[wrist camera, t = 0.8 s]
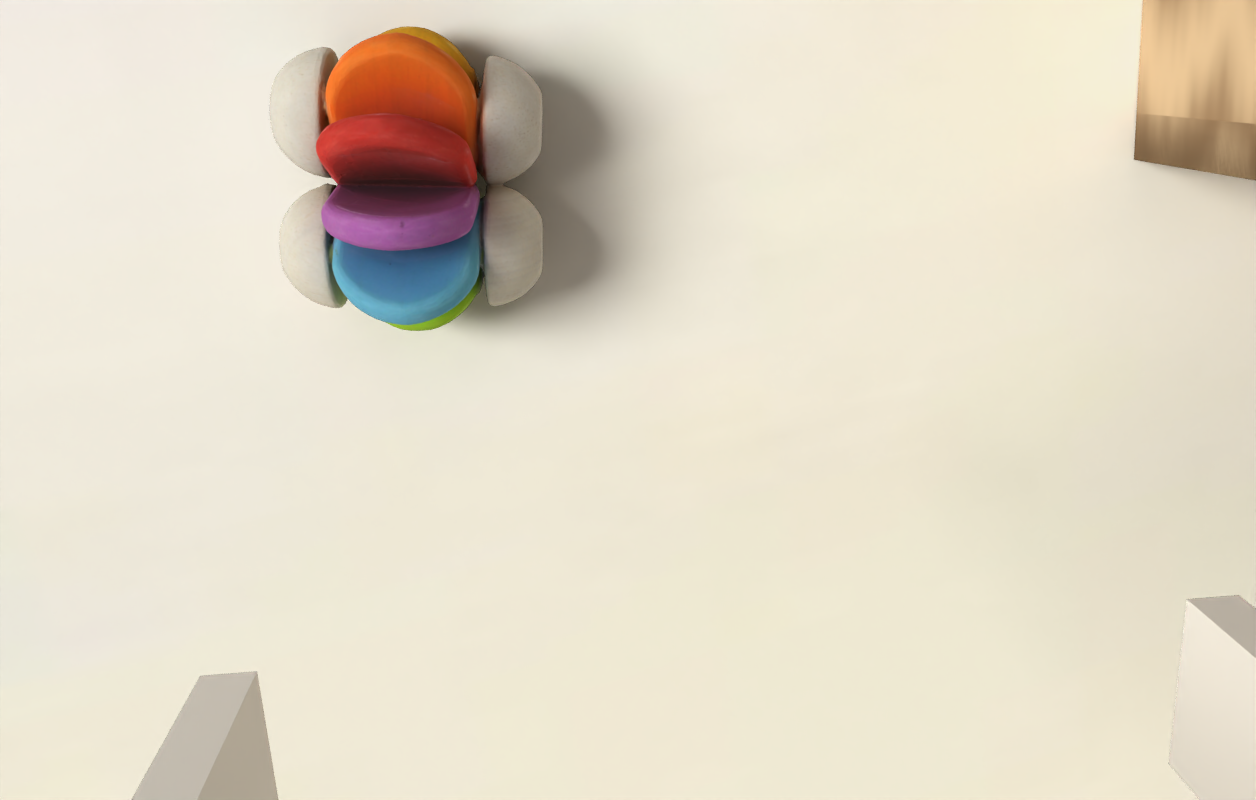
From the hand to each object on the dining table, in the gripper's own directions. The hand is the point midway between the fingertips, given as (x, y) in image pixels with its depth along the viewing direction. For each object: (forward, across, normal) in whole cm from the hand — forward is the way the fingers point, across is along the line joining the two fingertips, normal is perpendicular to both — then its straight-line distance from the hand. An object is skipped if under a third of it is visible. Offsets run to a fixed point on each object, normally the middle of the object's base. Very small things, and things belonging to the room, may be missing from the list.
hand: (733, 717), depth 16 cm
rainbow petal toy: (+26, -7, +5) cm, 27 cm away
